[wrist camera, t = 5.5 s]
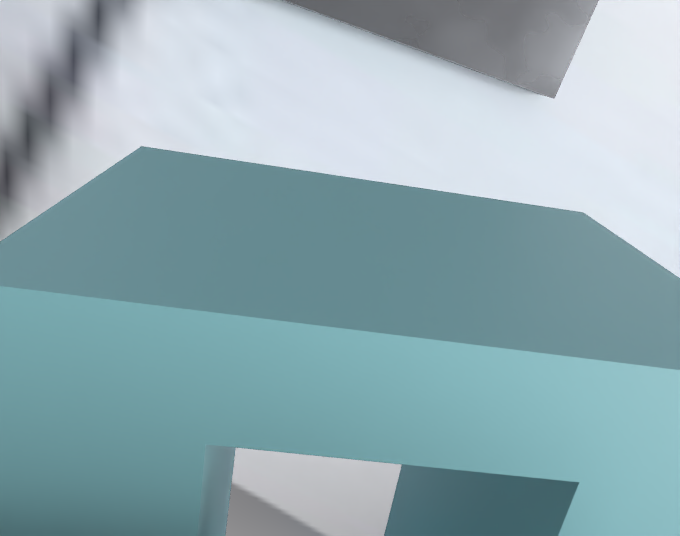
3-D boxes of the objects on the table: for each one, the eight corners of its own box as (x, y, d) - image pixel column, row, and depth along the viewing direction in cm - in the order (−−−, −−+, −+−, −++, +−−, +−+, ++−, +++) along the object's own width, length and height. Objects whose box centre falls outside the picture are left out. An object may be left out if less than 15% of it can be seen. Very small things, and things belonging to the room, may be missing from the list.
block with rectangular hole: (141, 145, 9) (-57, 279, 4) (583, 212, 9) (844, 391, 5) (127, 584, 12) (10, 928, 7) (451, 609, 13) (529, 938, 8)
